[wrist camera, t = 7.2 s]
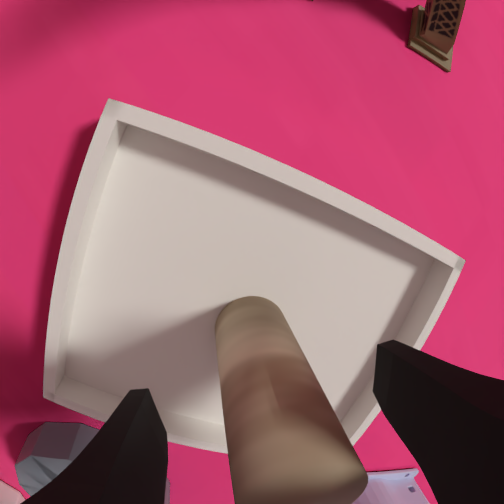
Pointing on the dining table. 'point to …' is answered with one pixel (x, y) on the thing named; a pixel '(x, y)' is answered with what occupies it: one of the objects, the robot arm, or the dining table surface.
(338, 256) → the tray
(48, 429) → the grey faceted ashtray
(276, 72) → the dining table surface
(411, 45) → the eiffel tower
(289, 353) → the pin
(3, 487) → the jar
